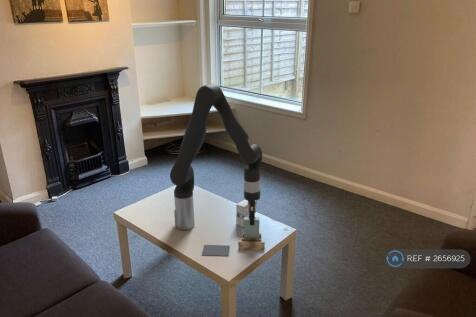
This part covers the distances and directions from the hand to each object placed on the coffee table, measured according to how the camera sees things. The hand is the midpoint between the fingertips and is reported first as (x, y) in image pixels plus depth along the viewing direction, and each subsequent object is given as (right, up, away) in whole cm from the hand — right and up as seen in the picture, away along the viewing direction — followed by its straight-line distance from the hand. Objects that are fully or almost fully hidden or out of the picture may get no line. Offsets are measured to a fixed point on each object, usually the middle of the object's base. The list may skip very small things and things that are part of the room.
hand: (252, 220), depth 177 cm
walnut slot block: (0, -10, +4) cm, 11 cm away
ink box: (-3, -5, +20) cm, 21 cm away
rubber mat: (-17, -13, -4) cm, 22 cm away
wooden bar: (-1, -13, -3) cm, 13 cm away
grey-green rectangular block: (0, -10, +4) cm, 11 cm away
